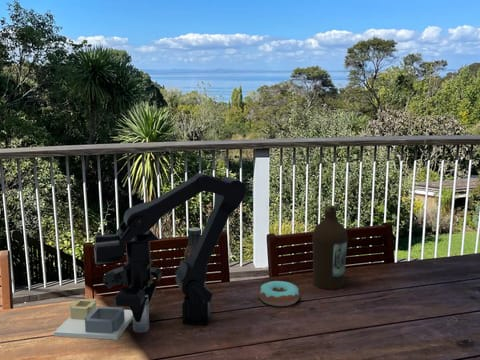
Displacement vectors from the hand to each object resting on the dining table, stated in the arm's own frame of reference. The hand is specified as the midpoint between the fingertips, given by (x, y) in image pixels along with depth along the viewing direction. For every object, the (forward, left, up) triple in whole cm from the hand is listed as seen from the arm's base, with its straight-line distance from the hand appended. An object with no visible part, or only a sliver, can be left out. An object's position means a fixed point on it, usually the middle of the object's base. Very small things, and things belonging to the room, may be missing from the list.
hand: (140, 317), depth 118 cm
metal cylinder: (0, 0, -3) cm, 3 cm away
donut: (-34, -22, -4) cm, 41 cm away
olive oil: (-49, -35, -3) cm, 60 cm away
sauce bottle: (-9, -23, -3) cm, 25 cm away
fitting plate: (+12, -1, -3) cm, 12 cm away
